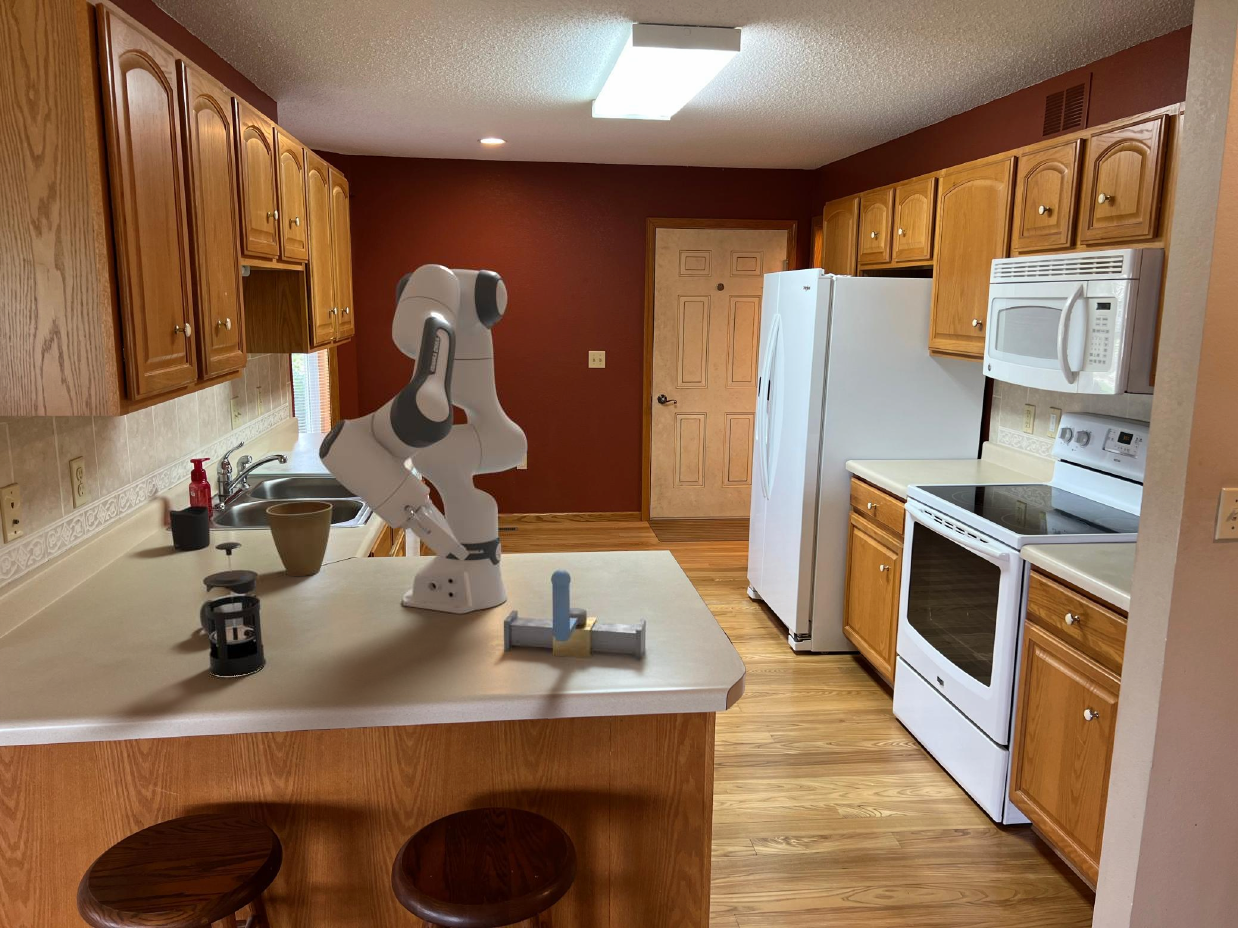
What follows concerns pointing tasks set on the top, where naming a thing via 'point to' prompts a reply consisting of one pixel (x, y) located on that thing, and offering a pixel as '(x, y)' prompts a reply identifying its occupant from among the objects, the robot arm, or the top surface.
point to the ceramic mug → (220, 609)
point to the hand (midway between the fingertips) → (464, 555)
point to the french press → (235, 644)
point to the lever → (564, 607)
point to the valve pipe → (576, 637)
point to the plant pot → (301, 534)
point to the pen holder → (190, 528)
